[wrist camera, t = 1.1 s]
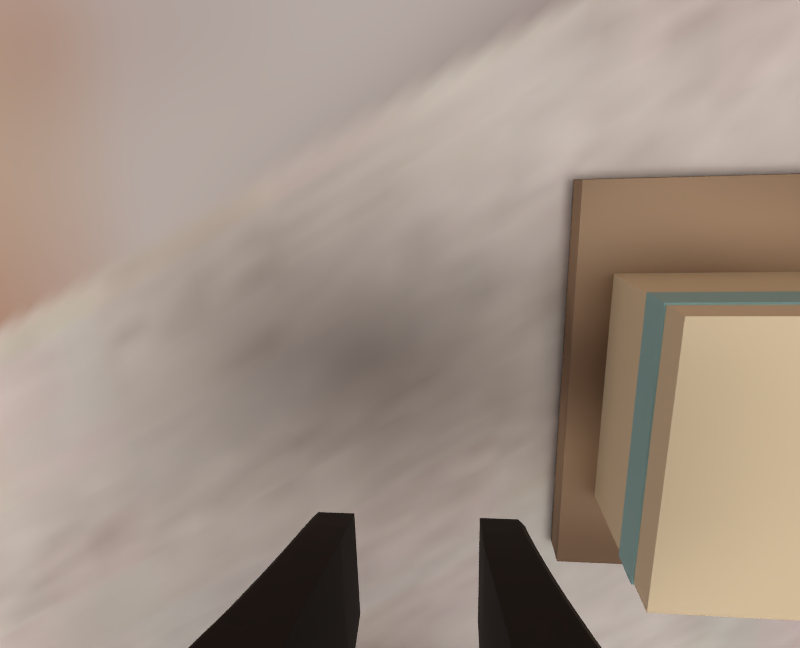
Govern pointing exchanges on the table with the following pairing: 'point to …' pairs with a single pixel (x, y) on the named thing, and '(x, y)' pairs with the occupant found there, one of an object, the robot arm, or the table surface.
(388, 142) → the table surface
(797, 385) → the carton
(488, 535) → the robot arm
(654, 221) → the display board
